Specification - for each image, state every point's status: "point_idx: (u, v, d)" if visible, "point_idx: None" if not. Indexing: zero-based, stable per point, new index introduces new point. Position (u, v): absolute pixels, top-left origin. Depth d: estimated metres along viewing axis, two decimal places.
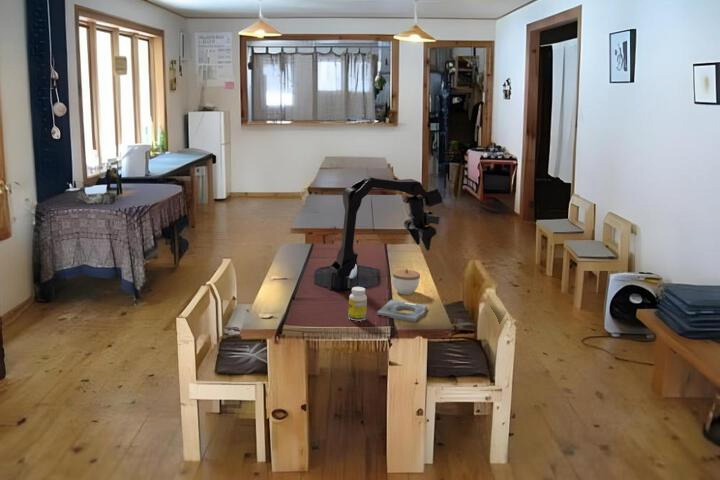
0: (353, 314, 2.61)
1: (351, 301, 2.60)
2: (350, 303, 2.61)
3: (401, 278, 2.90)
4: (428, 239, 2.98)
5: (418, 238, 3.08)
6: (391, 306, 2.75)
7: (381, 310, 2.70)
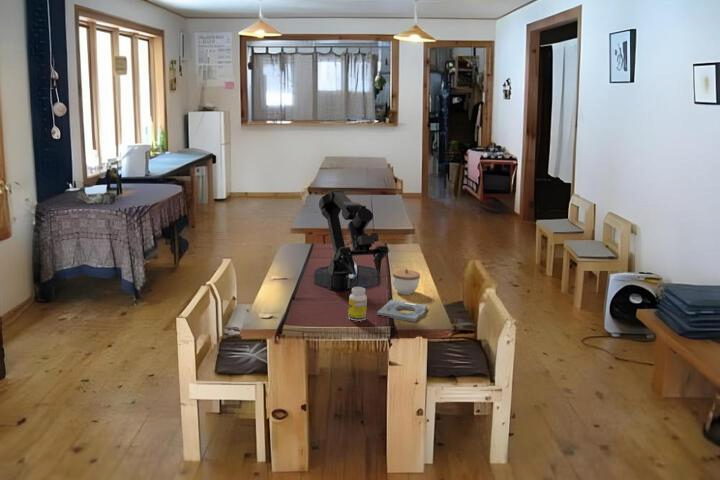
0: (353, 314, 2.61)
1: (351, 301, 2.60)
2: (350, 303, 2.61)
3: (401, 278, 2.90)
4: (349, 262, 2.69)
5: (377, 266, 2.72)
6: (391, 306, 2.75)
7: (381, 310, 2.70)
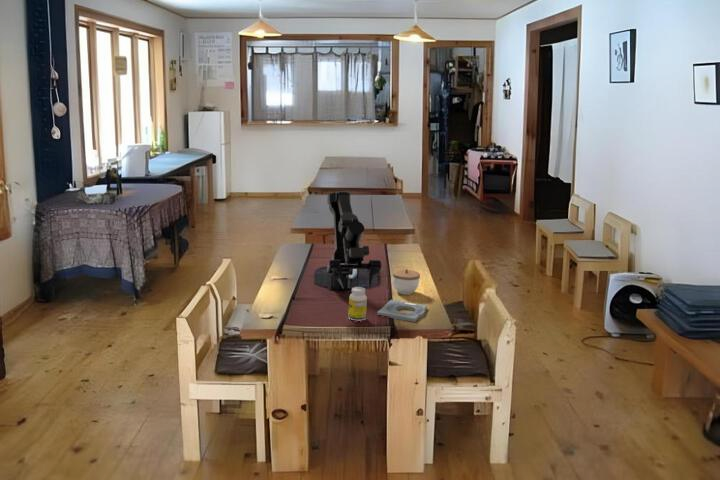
0: (353, 314, 2.61)
1: (351, 301, 2.60)
2: (350, 303, 2.61)
3: (401, 278, 2.90)
4: None
5: (368, 280, 2.66)
6: (391, 306, 2.75)
7: (381, 310, 2.70)
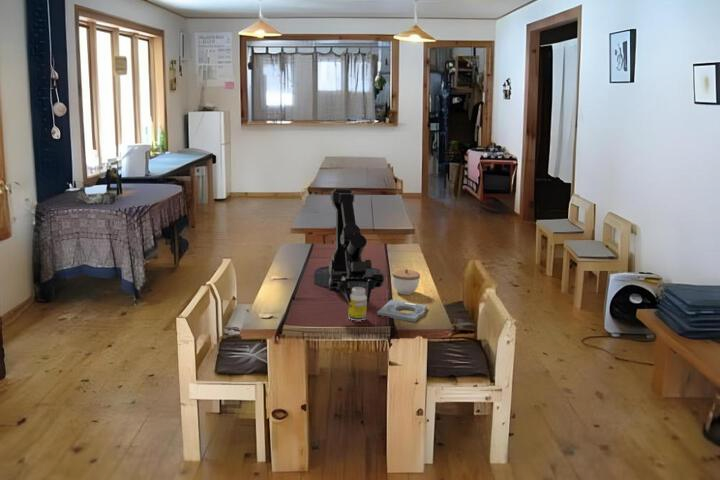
0: (353, 314, 2.61)
1: (351, 301, 2.60)
2: (350, 303, 2.61)
3: (401, 278, 2.90)
4: None
5: (367, 294, 2.63)
6: (391, 306, 2.75)
7: (381, 310, 2.70)
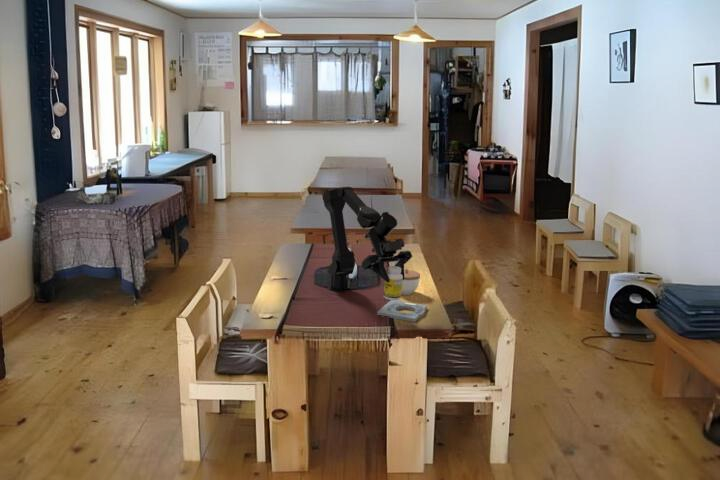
0: (392, 293, 2.64)
1: (390, 281, 2.63)
2: (388, 283, 2.64)
3: None
4: (381, 269, 2.64)
5: (401, 272, 2.68)
6: (391, 306, 2.75)
7: (381, 310, 2.70)
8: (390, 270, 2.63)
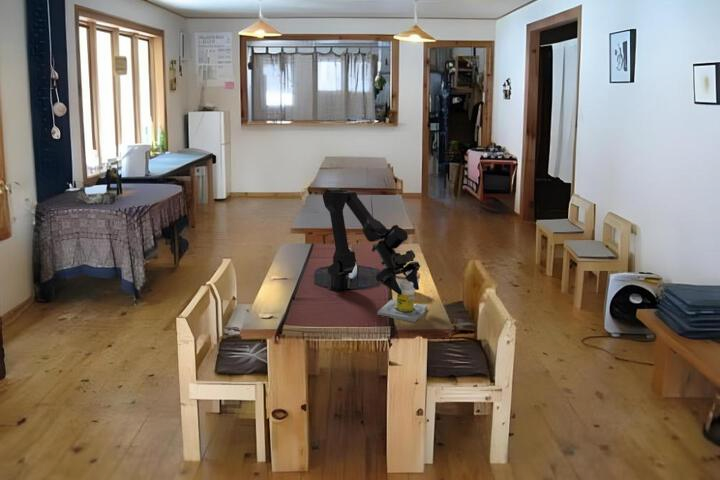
0: (406, 308, 2.70)
1: (404, 296, 2.69)
2: (402, 298, 2.69)
3: (401, 278, 2.90)
4: (392, 282, 2.68)
5: (415, 283, 2.74)
6: (391, 306, 2.75)
7: (381, 310, 2.70)
8: (403, 286, 2.69)
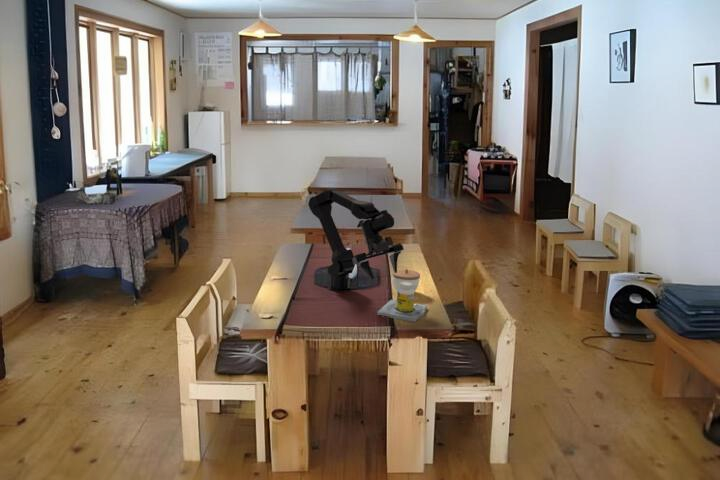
0: (406, 308, 2.70)
1: (404, 296, 2.69)
2: (402, 298, 2.69)
3: (401, 278, 2.90)
4: (366, 267, 2.76)
5: (394, 266, 2.79)
6: (391, 306, 2.75)
7: (381, 310, 2.70)
8: (403, 286, 2.69)
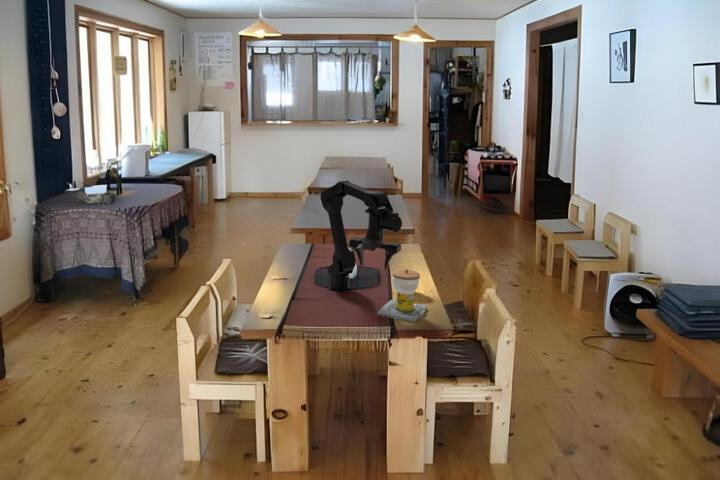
0: (406, 308, 2.70)
1: (404, 296, 2.69)
2: (402, 298, 2.69)
3: (401, 278, 2.90)
4: None
5: None
6: (391, 306, 2.75)
7: (381, 310, 2.70)
8: (403, 286, 2.69)
